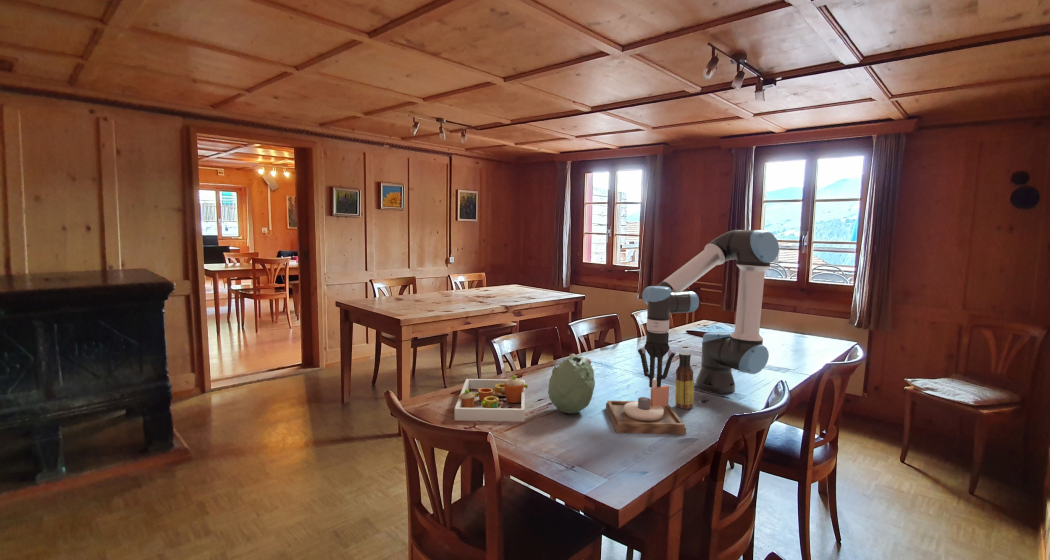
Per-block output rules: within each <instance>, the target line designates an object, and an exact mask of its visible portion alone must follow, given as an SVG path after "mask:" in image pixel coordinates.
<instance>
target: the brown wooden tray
mask: <svg viewBox="0 0 1050 560" xmlns="http://www.w3.org/2000/svg"><path fill="white" fill-rule="evenodd" d="M634 401H635V400H607V401H606V402H605V409H606V412H607V414H608V417H609V418H610V421H611V423H612V426H613V427H614V431H615V433H616V434H651V435H653V434H654V435H655V434H656V435H657V434H660V435H661V434H662V435H666V434H667V435H668V434H669V435H686V434H687V427H686V424H685V423H684V422H683V421H682V419H681V418H680V417H679V416H678V414H677V412H676V411H674V409H673V408H672V406H670V404H669V403H668V406H665V407H663V409H664V415H663V418H661V419H659V420H654V421H643V420H637V419H633V418H631V417H628V416H627V415H625V413H624V405H625V404H626V403H629V402H634Z"/></svg>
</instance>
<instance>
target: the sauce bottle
mask: <svg viewBox="0 0 1050 560" xmlns="http://www.w3.org/2000/svg"><path fill="white" fill-rule="evenodd" d="M691 356H692V354H691V353H689V352H679V353H678V358H679V361H678V367H677V368H676V370H675V406H676V407H677V408H679V409H683V410H689V409H693V406H694V385H695V384H694V381H695V380H694V371H693V368H692V366H691V358H692V357H691Z"/></svg>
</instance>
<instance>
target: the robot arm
mask: <svg viewBox="0 0 1050 560" xmlns="http://www.w3.org/2000/svg"><path fill="white" fill-rule="evenodd" d="M778 241H779V240H778V239H777V237H775V235H774V233H772V232H771V231H768V230H762V229H733V230H729V231H727V232H725V233H722V234H720V235H719V236H717V237H715V238H714V239H713V240H711V241H710V242H708V243H707V244H706V245H705V246H704V249H703V250H702V251H700V253H698V254H697V255H696V256H694V257H693V258H691V259H690V260H689V261H688V262H686V263H685V264H684V265H682V266H681V267H679V268H678V269H677V270H675V271H674V272H673V273H672V274H671V275H669V276H668V277H666V278H665V279H664V280H662V281H660V283H658V284H656V285H650V286H646V287H645V288H644V290H643V291H642V294H641V295H642V296H641V297H642V300H643V303H645V305H647V308H646V309H647V317H646V330H647V331H646V335H645V338H646V339H645V343H644V346H643V347H639V349H637V352H638V354H639V356H640V360H641V365H642V370H643V371H642V372H643V374H644V375H643V376H644V377H647V378H648V379H649V380H648V381H649V382H648V386H649V388H650V389H651V388H656V387H661V386H662V380H665V379H666V378H667V377H668V374H669V371H670V367H671V364H672V362H673V358H674V357H675V356H676V354H677V353H676V352H675V351H673V350H671V349H670V346H669V340H670V339H669V338H670V336H669V335H670V333H669V330H670V317H671V316H670V315H671V314H683V313H686V314H688V313H692V312H695V311H696V310H698V308H699V305H700V299H699V296H698V294H697V292H694V291H692V290H691V291H690V290H686V289H688V288H689V287H690V286H691V285H693V284H694V283H695V282H696V281H698V280H699V279H700V278H701V277H703V276H705V274H707V273H708V272H709V271H710V270H712V269H713V268H714V267H716V266H719V265H723V264H724V263H725V262H727V261H731V260H733V261H735V260H736V262H735V264H736V267H737V268H738V269H739V277H738V278H739V280H738V291H737V292H738V293H737V300H736V301H737V302H736V304H737V305H736V313H735V325H734V331H733V332H730V331H710V332H705V333H704V334H703V336H702V341H701V361H700V369H699V372H698V374H697V377H696V379H695V387H696V388H698V389H700V390H702V391H704V392H705V391H706V392H709V393H716V394H727V393H728V394H730V393H733V392H735V391H736V384H735V383H736V382H735V378H734V376H733V375H734V374H733V372H732V369H733V370H735V371H739V372H740V373H744V374H749V375H755V374H759V373H760V372H761V371H762V370H763V369H765V367H766V365H767V363H768V361H769V356H770V355H769V350H768V348H767V347H766V346H765V345H763V341H764V339H763V337H762V336H761V335H760V328H761V327H760V326H761V318H762V317H761V316H762V306H763V297H764V286H765V285H764V284H765V276H766V275H765V274H766V271H767V270H768V269H769V268H770V266H771V263H772V262H774V261H775V260H776V259H777V257H778V255H779V253H780V252H779V251H780V247H779V242H778ZM646 353H647V354H648V355H649V364H648V360H647V359H648V358H647V355H646ZM666 354H667V357H668V358H667V360H666V363H665V366H664V370H663V361H664V360H663V359H664V357H665V356H666ZM656 358H657V359H656ZM656 360H657V366H655V365H656ZM656 367H657V369H656V377H655V368H656Z"/></svg>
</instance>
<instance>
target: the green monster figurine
mask: <svg viewBox="0 0 1050 560" xmlns="http://www.w3.org/2000/svg"><path fill="white" fill-rule="evenodd" d="M591 364H592V360H591V359H590V358H588V357H586V358H585V357H583V356H579V355H576V354H575V353H569V356H568V357H567V358H565V359H564V360H562V361H561V362H559V365H558V366H555V365H554V366H553V368H552V371H551V375H550V378H549V381H548V390H547V394H548V398H549V401H550V402H551V403H552V404H553V406H555V408H556V409H557V410H559V411H560V412H562V413H565V414H575V413H577V414H578V413H579V412H581V411H583V410H584V409H586V408H587V407H588V406H589V405H590V402H591V401H592V398H593V394H594V390H595V386H596V385H595V384H596V381H595V371H594V368H593V365H591Z"/></svg>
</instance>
